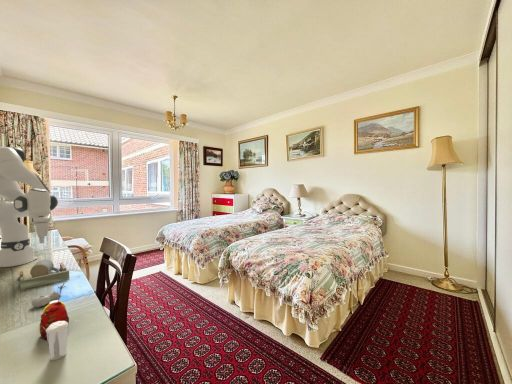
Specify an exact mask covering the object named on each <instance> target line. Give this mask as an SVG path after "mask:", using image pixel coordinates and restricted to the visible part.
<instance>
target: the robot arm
mask: <svg viewBox="0 0 512 384" xmlns="http://www.w3.org/2000/svg"><path fill="white" fill-rule="evenodd" d="M25 161H26V153H25V151H24V149H22V148H20V147H15V146H0V198H3V199H4V200H0V233H1V242H0V268H8V267H16V266H20V265H21V266H22V265H25V264H28V263H31V262H33V261H36V260H38V257H37V256H35V255H34V252H35V251H34V247H33V246H32V245H30V243H31V241H30V240H31V239H30V237H29V227H28V225H26V224H24V223H21V222H19V220H18V218H26V217H28V219H29V220H28V222H29V223H32V225H33V226H35V233H36V235H37V237H38V241H39V243H40V244H44V243H45V237H47V236H48V234H49V222H51V221H52V211H54V210H55V209H56V207H57V206H58V204H59V201H58V198H57V197H56V196H55V195H54V194H53V193H52V192H51V191H50V189H48V187H47V186H46V184H45V183H44V182H43V180H42V179H41V177H40V176H39V175H38V174H37V173H35V172H33V171H32V170H30V169H29V168H28V167H27V165H26V164H25ZM19 183H22V184H24V185H29V186H30V187H31V189H28V191H27V193H25V192H24V191H23V190H22V188H21V187H20V185H19Z"/></svg>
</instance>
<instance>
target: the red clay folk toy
mask: <svg viewBox="0 0 512 384" xmlns="http://www.w3.org/2000/svg"><path fill="white" fill-rule="evenodd" d="M57 288H58V289H59V295H58V296H59V299H58V302H54V303H52V304H51V305H50V306H48V307H47V308H46V309H45V312H44V313H43V312H42V314H40V323H39V334H40V337H41V338H43V339H45V340H47V335H46V331H45V329H47V328H48V327H49V326H50V325H51V324H52V323H55V322H57V321H66V322H68V326H69V324H70V318H69V316H68V312H67V311H68V310H67V309H65V307H66V306H65V307H64V305H62V303H61V302H62V301H60V298H62V295H61V294H62V290H63V288H66V285H65V282H63V283H62V285H60V287H59V286H58V287H57ZM59 301H60V302H59ZM43 327H44V328H45V329H44V328H43Z"/></svg>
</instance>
